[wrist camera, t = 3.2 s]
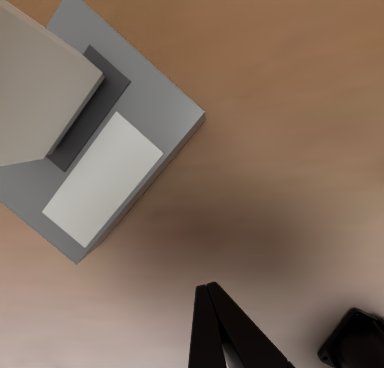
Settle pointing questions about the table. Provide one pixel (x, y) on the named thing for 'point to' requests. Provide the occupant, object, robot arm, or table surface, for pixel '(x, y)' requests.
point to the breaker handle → (38, 87)
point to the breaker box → (101, 141)
